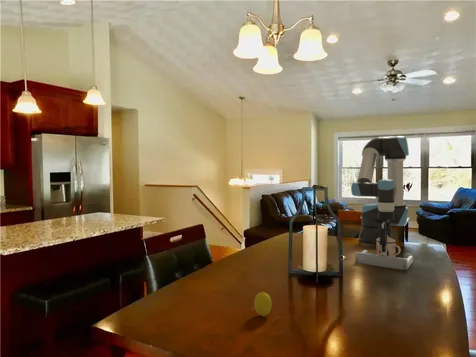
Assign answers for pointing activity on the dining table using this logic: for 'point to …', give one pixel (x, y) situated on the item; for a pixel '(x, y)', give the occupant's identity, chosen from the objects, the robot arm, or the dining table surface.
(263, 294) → the lemon
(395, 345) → the dining table surface
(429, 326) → the dining table surface
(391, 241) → the teacup with lid
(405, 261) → the aluminium dock
